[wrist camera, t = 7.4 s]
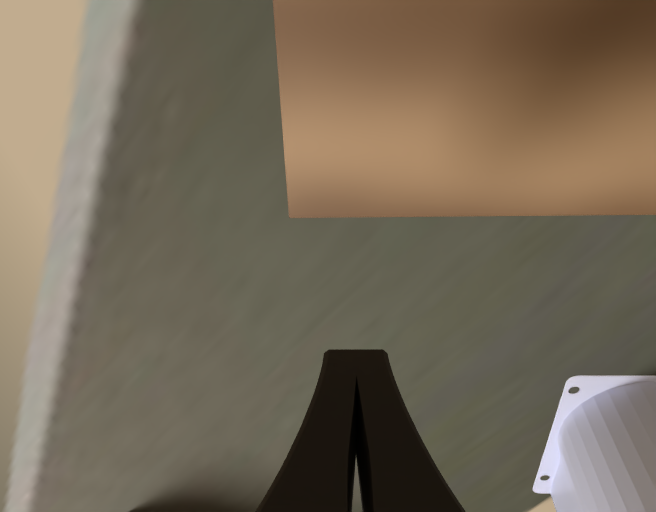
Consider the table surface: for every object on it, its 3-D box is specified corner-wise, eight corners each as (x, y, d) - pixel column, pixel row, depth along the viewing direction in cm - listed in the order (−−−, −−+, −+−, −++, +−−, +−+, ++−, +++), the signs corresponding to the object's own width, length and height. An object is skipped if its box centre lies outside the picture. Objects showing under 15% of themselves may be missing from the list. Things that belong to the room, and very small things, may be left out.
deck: (690, 169, 20) (738, 213, 18) (295, 174, 21) (289, 217, 18) (846, -241, 14) (954, -261, 11) (270, -221, 14) (255, -237, 12)
